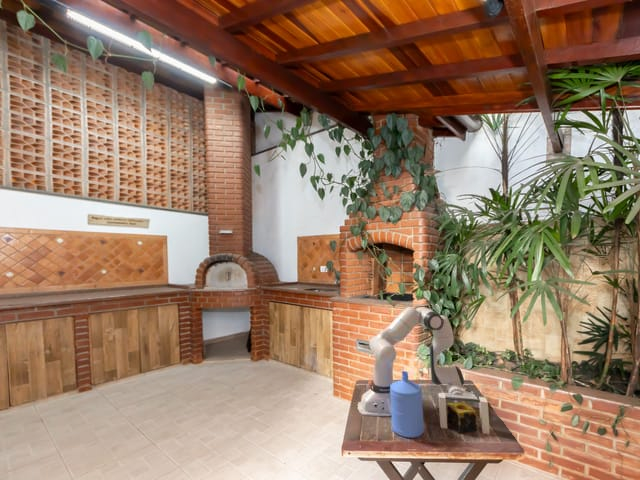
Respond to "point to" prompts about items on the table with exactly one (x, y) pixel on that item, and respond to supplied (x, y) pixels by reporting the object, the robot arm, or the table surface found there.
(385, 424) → the table surface
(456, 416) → the candle
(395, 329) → the robot arm
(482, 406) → the frame
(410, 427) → the water jug
